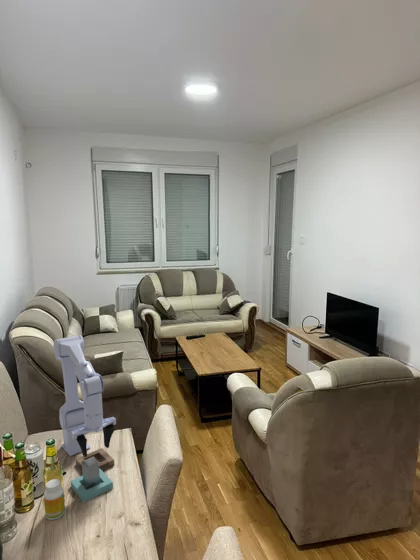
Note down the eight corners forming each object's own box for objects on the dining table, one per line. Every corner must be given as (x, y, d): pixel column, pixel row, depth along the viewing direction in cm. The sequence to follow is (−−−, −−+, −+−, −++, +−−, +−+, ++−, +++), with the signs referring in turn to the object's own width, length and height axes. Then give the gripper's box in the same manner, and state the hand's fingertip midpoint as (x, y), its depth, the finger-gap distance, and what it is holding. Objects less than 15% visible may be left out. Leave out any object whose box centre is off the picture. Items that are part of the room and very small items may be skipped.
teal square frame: (70, 486, 124) (70, 480, 123) (99, 473, 130) (99, 468, 130) (83, 502, 116) (82, 496, 116) (113, 487, 123) (112, 482, 122)
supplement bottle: (65, 517, 110) (62, 486, 109) (45, 522, 108) (42, 491, 107) (65, 505, 115) (62, 475, 114) (45, 510, 113) (43, 480, 112)
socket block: (76, 463, 136) (75, 458, 136) (102, 453, 142) (102, 448, 142) (87, 477, 128) (87, 471, 128) (114, 464, 135) (114, 459, 135)
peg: (83, 487, 123) (81, 461, 122) (95, 481, 126) (93, 456, 125) (88, 493, 120) (86, 466, 119) (100, 487, 123) (98, 461, 122)
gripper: (76, 424, 116) (79, 465, 118) (119, 409, 125) (121, 447, 127) (68, 416, 122) (70, 455, 123) (109, 402, 131) (112, 439, 133)
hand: (95, 450), depth 126 cm, fingers open, 7 cm apart
